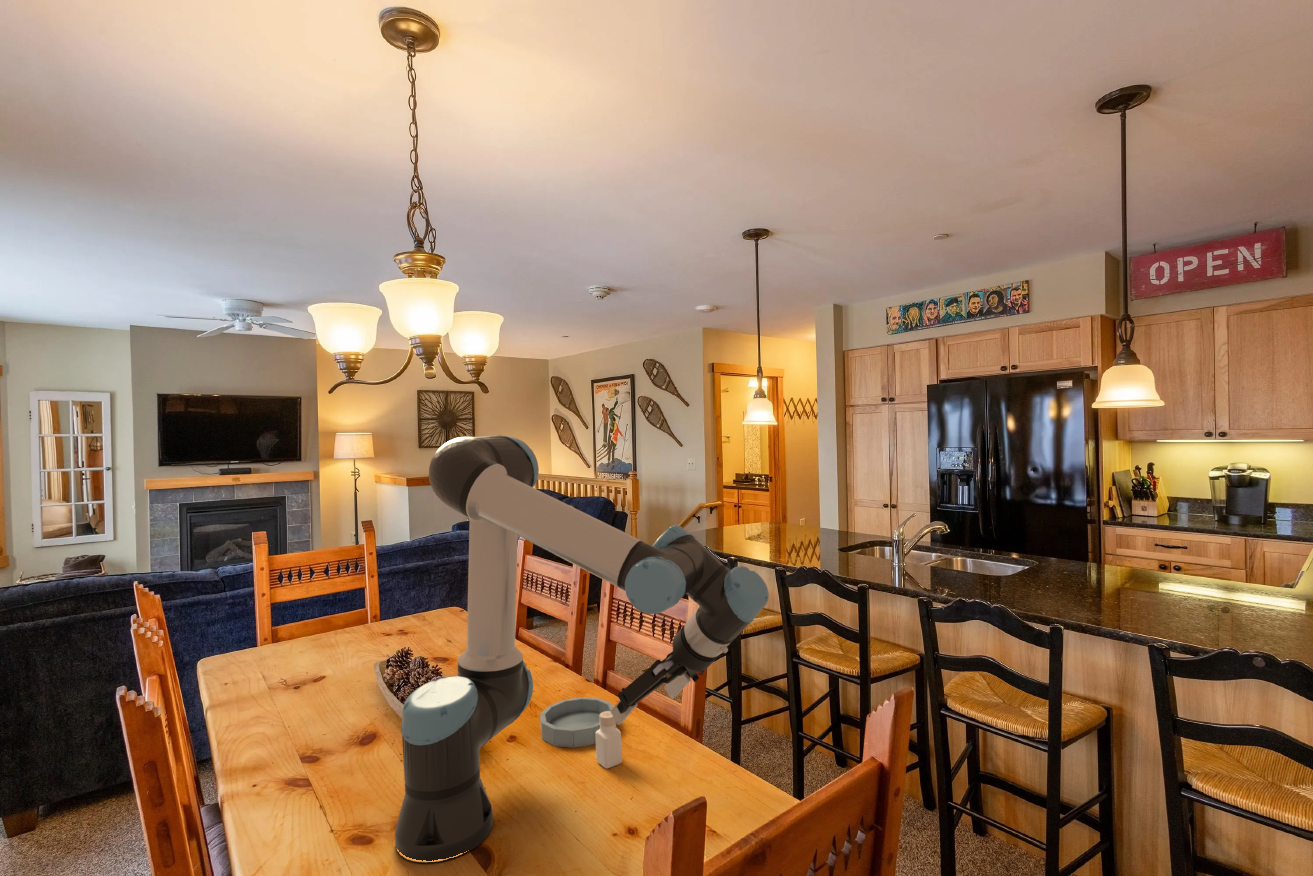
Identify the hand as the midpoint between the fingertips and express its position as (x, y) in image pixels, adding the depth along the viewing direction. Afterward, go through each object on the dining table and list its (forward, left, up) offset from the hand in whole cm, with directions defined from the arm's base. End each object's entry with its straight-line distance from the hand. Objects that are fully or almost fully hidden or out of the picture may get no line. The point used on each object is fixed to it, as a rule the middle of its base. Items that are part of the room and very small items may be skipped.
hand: (643, 704), depth 115 cm
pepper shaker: (0, +10, -14) cm, 18 cm away
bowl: (+5, +26, -14) cm, 30 cm away
